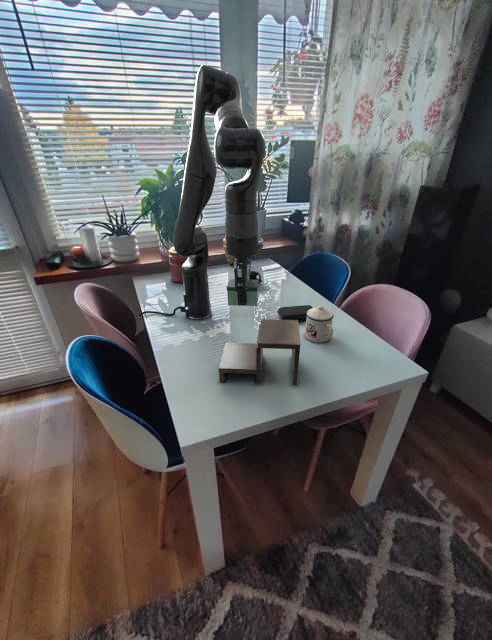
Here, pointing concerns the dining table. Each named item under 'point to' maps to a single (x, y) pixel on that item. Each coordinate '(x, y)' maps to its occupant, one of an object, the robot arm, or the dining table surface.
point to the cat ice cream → (229, 258)
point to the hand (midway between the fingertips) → (243, 299)
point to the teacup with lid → (319, 324)
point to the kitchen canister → (176, 265)
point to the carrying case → (294, 312)
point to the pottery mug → (254, 275)
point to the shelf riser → (251, 355)
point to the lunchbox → (251, 293)
